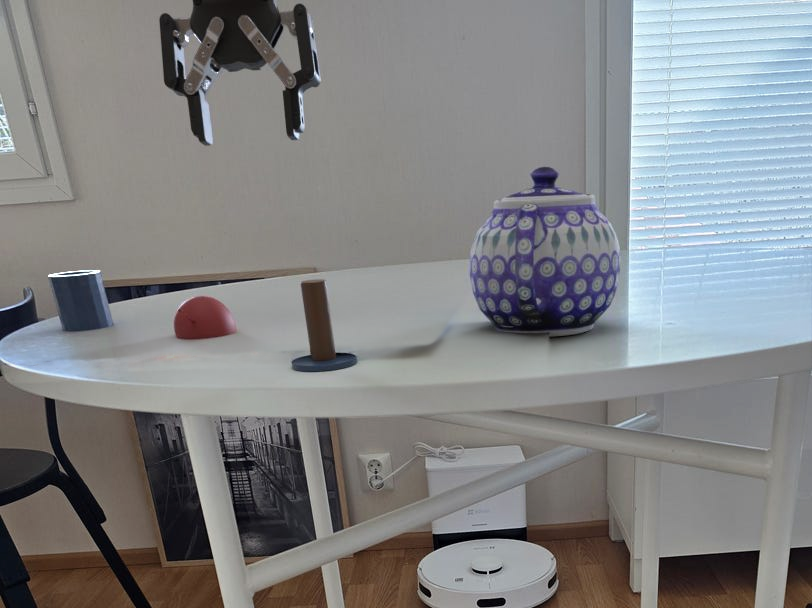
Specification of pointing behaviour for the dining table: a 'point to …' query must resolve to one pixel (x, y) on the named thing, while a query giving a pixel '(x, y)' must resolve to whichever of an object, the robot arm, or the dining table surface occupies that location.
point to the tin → (81, 300)
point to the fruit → (203, 319)
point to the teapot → (545, 260)
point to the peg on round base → (320, 331)
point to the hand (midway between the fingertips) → (249, 141)
